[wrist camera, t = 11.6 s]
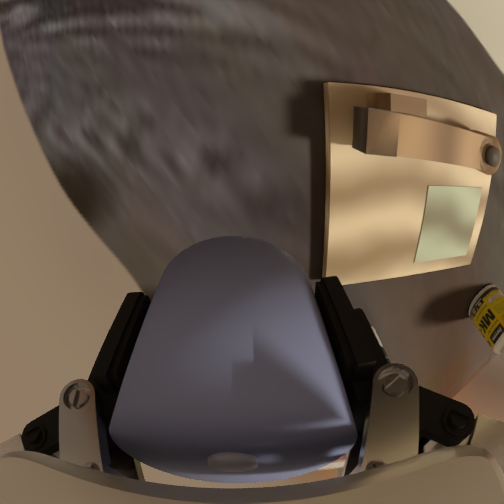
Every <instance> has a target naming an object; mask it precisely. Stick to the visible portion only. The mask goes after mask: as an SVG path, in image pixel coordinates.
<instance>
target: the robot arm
mask: <svg viewBox="0 0 504 504" xmlns="http://www.w3.org/2000/svg"><path fill="white" fill-rule="evenodd" d="M315 298H316V301H317V304H318V307H319V309H320V312H321V315H322V318H323V321H324V324H325V327H326V330H327V333H328V336H329V340H330V343H331V346H332V349H333V352H334V355H335V358H336V362H337V365H338V368H339V371H340V374H341V378H342V381H343V384H344V388H345V391H346V395H347V398H348V401H349V405H350V408H351V412H352V415H353V419H354V423H355V426H356V430H357V440H356V442H355V444H354V445H353V447H352V448H351V449H350V450H349V451H348V452H347V454H346V459H345V463H344V467H343V468H337V473H338V477H337V478H332V479H328V480H322V481H316V482H310V483H303V484H297V485H288V486H277V487H264V488H243V489H219V488H196V487H185V486H174V485H166V484H159V483H152V482H146V481H145V479H144V476H143V472H142V469H141V465H140V461H138V460H136V459H135V458H133V457H131V456H130V455H128V454H127V453H126V452H124V451H123V450H122V449H121V448H120V447H118V446H117V445H116V443H115V442H114V441H113V440H112V438H111V436H110V433H109V426H110V423H111V419H112V415H113V412H114V409H115V405H116V402H117V398H118V395H119V392H120V389H121V386H122V382H123V379H124V376H125V373H126V370H127V367H128V364H129V361H130V358H131V355H132V352H133V350H134V347H135V344H136V341H137V338H138V336H139V333H140V330H141V327H142V325H143V322H144V319H145V317H146V314H147V311H148V309H149V306H150V304H151V301H150V299H149V297H148V296H145V295H144V293H143V292H132V293H128V294H127V295H126V297H125V300H124V301H123V303H122V305H121V308H120V309H119V311H118V313H117V316H116V318H115V320H114V322H113V324H112V326H111V328H110V330H109V332H108V334H107V336H106V339H105V341H104V343H103V345H102V348H101V350H100V352H99V354H98V357H97V359H96V361H95V364H94V366H93V368H92V371H91V374H90V376H89V379H88V381H87V380H84V379H77V380H73V381H71V382H70V383H68V384H67V385H66V386H65V387H64V388H63V390H62V392H61V394H60V402H59V406H57V407H55V408H54V409H52V410H50V411H48V412H47V413H45V414H43V415H42V416H40V417H38V418H36V419H35V420H33V421H31V422H30V423H29V424H27V425H26V427H25V428H24V430H23V433H22V435H21V434H18V435H16V436H14V437H12V438H11V439H9V440H7V441H5V442H3V443H1V444H0V504H504V422H502V421H499V420H496V419H493V418H489V417H486V416H483V415H480V414H479V415H478V416H477V417H476V416H474V414H473V412H472V410H471V409H470V408H469V407H468V406H467V405H465V404H463V403H461V402H459V401H456V400H453V399H451V398H448V397H446V396H443V395H441V394H438V393H436V392H433V391H431V390H428V389H426V388H423V387H421V386H419V382H418V378H417V375H416V374H415V372H414V371H413V370H412V369H411V368H410V367H408V366H406V365H404V364H400V363H389V364H388V361H387V359H386V357H385V355H384V353H383V351H382V348H381V346H380V344H379V342H378V340H377V338H376V336H375V334H374V332H373V330H372V328H371V326H370V324H369V322H368V320H367V318H366V316H365V314H364V312H363V310H362V309H360V308H358V309H353V307H352V305H351V303H350V301H349V299H348V297H347V295H346V293H345V291H344V288H343V286H342V284H341V282H340V280H339V278H338V277H337V276H329V277H322V278H321V281H320V282H316V287H315Z"/></svg>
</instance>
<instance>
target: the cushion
mask: <svg viewBox="0 0 504 504" xmlns="http://www.w3.org/2000/svg"><path fill="white" fill-rule="evenodd" d="M109 433H110V436H111V438H112V440H113V441H114V442H115V443H116V445H117V446H118V447H120V448H121V449H122V450H123V451H124V452H126V453H127V454H128V455H130V456H131V457H133V458H135V459H136V460H138V461H140V462H142V463H144V464H146V465H148V466H151V467H153V468H155V469H158V470H161V471H164V472H167V473H170V474H174V475H178V476H181V477H185V478H190V479H196V480H202V481H209V482H220V483H256V482H266V481H274V480H281V479H286V478H290V477H294V476H298V475H301V474H305V473H308V472H311V471H314V470H317V469H319V468H322V467H324V466H326V465H328V464H330V463H332V462H334V461H336V460H337V459H339V458H340V457H342V456H343V455H345V454H346V453H347V452H348V451H349V450H350V449H351V448H352V447H353V445H354V444H355V442H356V440H357V430H356V426H355V423H354V419H353V415H352V412H351V408H350V405H349V401H348V398H347V395H346V391H345V388H344V384H343V381H342V378H341V374H340V371H339V368H338V365H337V362H336V358H335V355H334V352H333V349H332V346H331V343H330V340H329V336H328V333H327V330H326V327H325V324H324V321H323V318H322V315H321V312H320V309H319V307H318V304H317V301H316V298H315V295H314V292H313V289H312V286H311V284H310V281H309V278H308V276H307V274H306V272H305V271H304V269H303V268H302V266H301V265H300V264H299V263H298V262H297V260H295V259H294V258H293V257H292V256H291V255H290V254H289V253H287V252H286V251H284V250H283V249H281V248H279V247H277V246H275V245H273V244H271V243H268V242H265V241H263V240H260V239H255V238H250V237H241V236H224V237H217V238H211V239H208V240H205V241H201V242H199V243H196V244H194V245H192V246H190V247H188V248H187V249H185V250H183V251H182V252H181V253H179V254H178V255H177V256H176V257H175V258H174V259H173V260H172V261H171V262H170V263H169V264H168V266H167V267H166V269H165V270H164V272H163V274H162V277H161V279H160V281H159V284H158V286H157V289H156V291H155V294H154V296H153V299H152V301H151V304H150V306H149V309H148V311H147V314H146V317H145V319H144V322H143V325H142V327H141V330H140V333H139V336H138V338H137V341H136V344H135V347H134V350H133V352H132V355H131V358H130V361H129V364H128V367H127V370H126V373H125V376H124V379H123V382H122V386H121V389H120V392H119V395H118V398H117V402H116V405H115V409H114V412H113V415H112V419H111V423H110V426H109Z"/></svg>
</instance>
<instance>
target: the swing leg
mask: <svg viewBox="0 0 504 504" xmlns="http://www.w3.org/2000/svg"><path fill="white" fill-rule="evenodd" d="M352 148H354V149H356V150H358V151H360V152H362V153H364V154H369V155H380V156H391V157H406V158H414V159H421V160H428V161H435V162H441V163H447V164H453V165H458V166H463V167H469V168H473V169H476V170H478V171H480V172H482V173H484V174H486V175H492V174H494V173H495V172H496V171H497V169H498V167H499V165H500V161H501V146H500V143H499V141H498V139H497V138H496V137H495V136H492V135H489V134H486V133H483V132H480V131H477V130H470V131H468V130H465V129H461V128H458V127H454V126H451V125H447V124H443V123H440V122H436V121H432V120H428V119H423V118H419V117H414V116H409V115H405V114H400V113H398V112H392V111H387V110H381V109H374V108H367V107H357V106H354V118H353V141H352Z"/></svg>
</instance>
